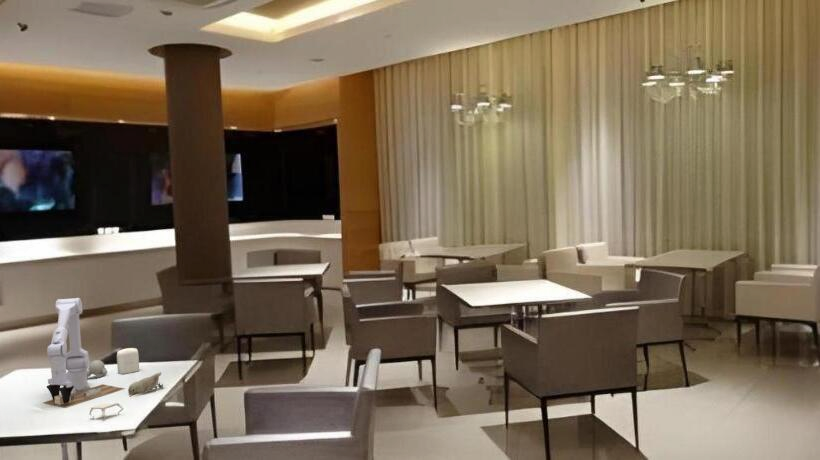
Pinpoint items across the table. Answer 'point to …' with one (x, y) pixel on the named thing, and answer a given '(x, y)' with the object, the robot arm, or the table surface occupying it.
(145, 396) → the table surface
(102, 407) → the white arched legged piece
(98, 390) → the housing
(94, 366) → the round bodied animal figurine
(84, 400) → the base board
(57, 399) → the plug
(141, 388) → the decorative bird
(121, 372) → the photo printer
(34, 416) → the table surface
